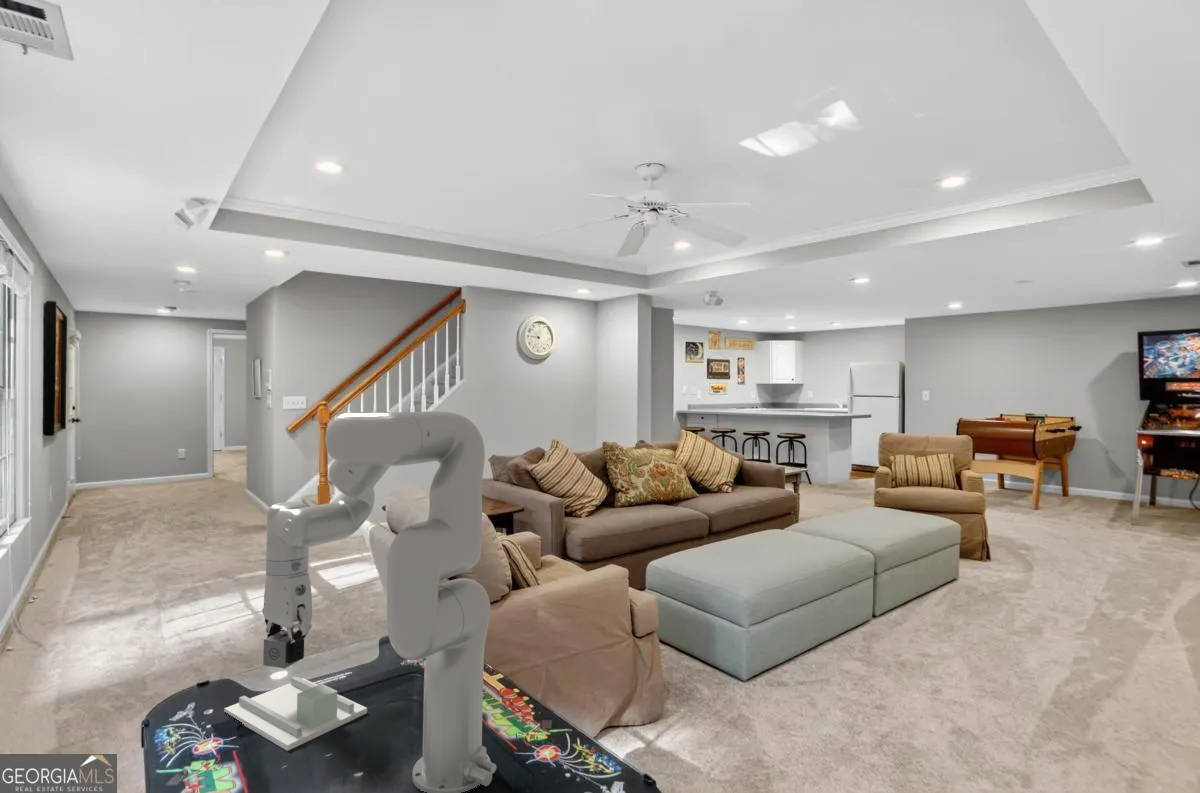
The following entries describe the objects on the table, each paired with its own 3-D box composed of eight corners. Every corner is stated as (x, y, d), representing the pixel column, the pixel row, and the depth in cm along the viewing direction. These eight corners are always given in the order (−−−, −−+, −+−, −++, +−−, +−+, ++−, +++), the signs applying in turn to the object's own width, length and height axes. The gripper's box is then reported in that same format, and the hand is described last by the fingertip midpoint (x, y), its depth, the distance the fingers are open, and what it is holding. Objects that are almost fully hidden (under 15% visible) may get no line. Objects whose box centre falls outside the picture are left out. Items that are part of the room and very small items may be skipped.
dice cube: (303, 657, 125) (303, 633, 125) (285, 668, 120) (285, 642, 120) (282, 654, 126) (282, 630, 126) (263, 665, 121) (263, 639, 121)
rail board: (366, 713, 122) (367, 682, 122) (287, 751, 108) (287, 716, 108) (302, 682, 134) (303, 654, 134) (224, 713, 120) (224, 682, 120)
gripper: (330, 569, 122) (328, 661, 122) (281, 554, 131) (279, 640, 131) (293, 578, 115) (291, 674, 115) (245, 562, 125) (243, 651, 125)
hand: (285, 655), depth 123 cm, fingers closed on dice cube, 6 cm apart
